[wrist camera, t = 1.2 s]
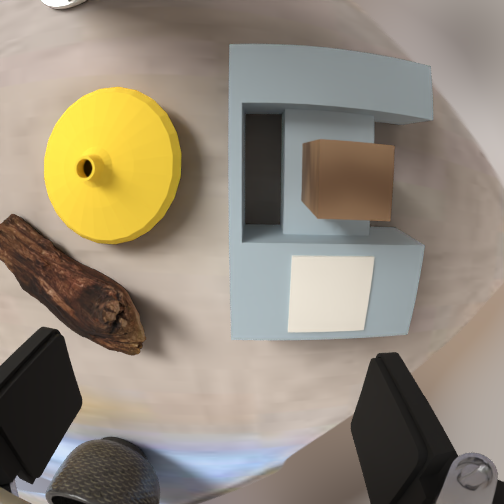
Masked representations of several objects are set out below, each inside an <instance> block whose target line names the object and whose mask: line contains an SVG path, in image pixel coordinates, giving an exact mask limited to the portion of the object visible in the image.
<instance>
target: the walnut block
mask: <svg viewBox="0 0 504 504" xmlns="http://www.w3.org/2000/svg"><path fill="white" fill-rule="evenodd" d="M394 151H395V146H393V145H384V144H375V143H365V142H354V141H342V140H327V139H318V140H314V141H310V142H306V143H303V144H302V193H301V201H302V202H303V203H304V204H305V205H306V207H307V208H308V209H309V210H310V211H311V212H312V213H313V214H314V215H315V216H316V218H317V219H341V220H371V221H390V218H391V206H392V193H393V176H394Z"/></svg>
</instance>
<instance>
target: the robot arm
mask: <svg viewBox="0 0 504 504" xmlns="http://www.w3.org/2000/svg"><path fill="white" fill-rule="evenodd" d="M41 1H42V2H43V3H44V4H45V5H47V6H49V7H51V8H54V9H65V8H70V7H73V6H76V5H78V4H81V3H83V2H85V1H86V0H41ZM81 406H82V397H81V394H80V391H79V388H78V385H77V381H76V378H75V375H74V372H73V368H72V365H71V362H70V358H69V354H68V351H67V347H66V343H65V339H64V337H63V336H62V335H61V334H60V332H59V331H58V330H57V329H52V328H47V327H41V328H40V329H38V330H37V331H36V332H35V333H34V334H33V335H32V336H31V337H30V338H29V339H28V340H27V341H26V342H25V343H23V344H22V345H21V346H20V347H19V348H18V349H17V350H16V351H15V352H14V353H13V354H12V355H11V356H10V357H9V358H8V359H7V360H6V361H5V362H4V363H3V364H2V365H1V366H0V504H31V503H29V502H27V501H25V500H23V499H21V498H19V495H18V491H17V487H16V483H15V478H16V476H17V475H18V477H19V478H20V479H22V480H24V481H26V482H28V483H30V484H33V483H34V481H35V479H36V478H39V477H40V476H41V475H42V473H43V471H44V469H45V468H46V466H47V464H48V462H49V461H50V459H51V457H52V455H53V454H54V452H55V450H56V449H57V447H58V445H59V443H60V442H61V440H62V438H63V437H64V435H65V433H66V432H67V430H68V428H69V427H70V425H71V423H72V422H73V420H74V418H75V417H76V415H77V413H78V412H79V410H80V409H81ZM351 432H352V436H353V440H354V443H355V447H356V450H357V454H358V457H359V461H360V465H361V468H362V472H363V476H364V479H365V483H366V487H367V490H368V495H369V498H370V503H371V504H504V482H502V481H500V480H498V479H497V478H498V472H497V469H496V466H495V465H494V463H493V462H492V461H491V460H490V459H489V458H487V457H486V456H484V455H482V454H479V453H465V454H463V455H460V456H458V455H457V453H456V451H455V449H454V447H453V446H452V444H451V442H450V440H449V438H448V436H447V435H446V433H445V431H444V429H443V427H442V426H441V424H440V422H439V420H438V419H437V417H436V415H435V413H434V411H433V410H432V408H431V406H430V405H429V403H428V401H427V399H426V398H425V396H424V395H423V393H422V392H421V390H420V388H419V387H418V385H417V383H416V382H415V380H414V378H413V377H412V375H411V373H410V372H409V370H408V368H407V367H406V365H405V364H404V362H403V360H402V359H401V357H400V356H399V354H398V353H396V352H392V353H379V354H377V356H376V358H372V359H371V361H370V364H369V367H368V371H367V374H366V378H365V381H364V384H363V388H362V391H361V394H360V397H359V400H358V403H357V406H356V409H355V412H354V415H353V419H352V422H351Z"/></svg>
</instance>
